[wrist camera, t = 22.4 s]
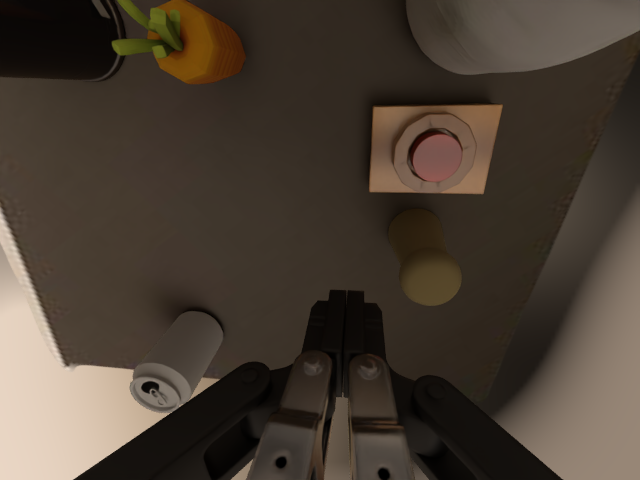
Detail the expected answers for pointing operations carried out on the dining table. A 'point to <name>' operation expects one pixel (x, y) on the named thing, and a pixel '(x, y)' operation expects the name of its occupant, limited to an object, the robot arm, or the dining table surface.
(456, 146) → the red button
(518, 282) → the dining table surface
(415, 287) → the cork
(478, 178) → the button box
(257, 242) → the dining table surface
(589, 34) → the grey tall rounded cylinder
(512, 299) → the dining table surface
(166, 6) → the carrot
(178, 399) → the can
